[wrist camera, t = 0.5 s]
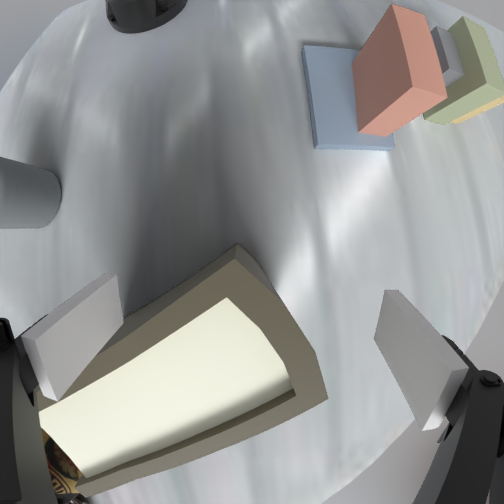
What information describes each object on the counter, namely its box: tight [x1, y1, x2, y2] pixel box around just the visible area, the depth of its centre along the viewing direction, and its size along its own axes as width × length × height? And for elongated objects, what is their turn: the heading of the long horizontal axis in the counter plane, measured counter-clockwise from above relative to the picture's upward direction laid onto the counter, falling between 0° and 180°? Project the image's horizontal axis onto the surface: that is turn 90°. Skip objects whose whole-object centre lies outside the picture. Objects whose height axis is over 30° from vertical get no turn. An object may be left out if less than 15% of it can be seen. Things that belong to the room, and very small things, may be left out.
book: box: [34, 243, 328, 498], centre depth 28 cm, size 22×9×28 cm, turn 123°
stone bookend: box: [430, 26, 465, 88], centre depth 33 cm, size 8×3×13 cm, turn 178°
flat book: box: [301, 45, 395, 151], centre depth 38 cm, size 17×12×2 cm
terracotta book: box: [352, 4, 448, 137], centre depth 29 cm, size 12×4×16 cm, turn 178°
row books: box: [423, 16, 504, 125], centre depth 31 cm, size 12×8×17 cm, turn 178°
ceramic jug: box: [41, 427, 82, 504], centre depth 28 cm, size 17×15×30 cm
